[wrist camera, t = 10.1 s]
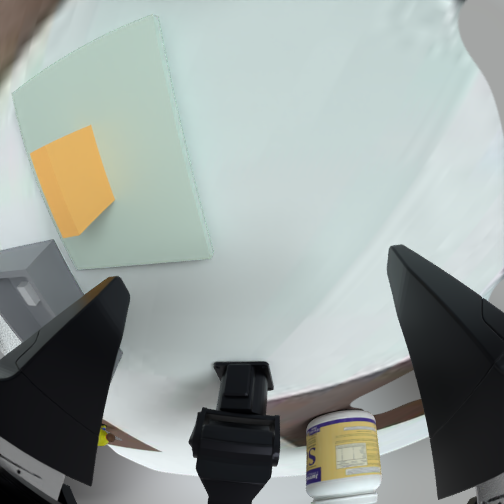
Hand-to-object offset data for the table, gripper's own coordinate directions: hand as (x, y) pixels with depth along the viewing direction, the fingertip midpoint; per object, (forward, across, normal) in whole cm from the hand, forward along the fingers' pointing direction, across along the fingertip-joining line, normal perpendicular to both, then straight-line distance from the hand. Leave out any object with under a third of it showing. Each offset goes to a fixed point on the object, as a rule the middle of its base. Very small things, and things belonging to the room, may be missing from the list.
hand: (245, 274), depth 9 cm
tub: (+12, +29, +12) cm, 34 cm away
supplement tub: (+12, -6, +44) cm, 46 cm away
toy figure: (+12, +54, +58) cm, 80 cm away
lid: (+12, +12, -3) cm, 17 cm away
